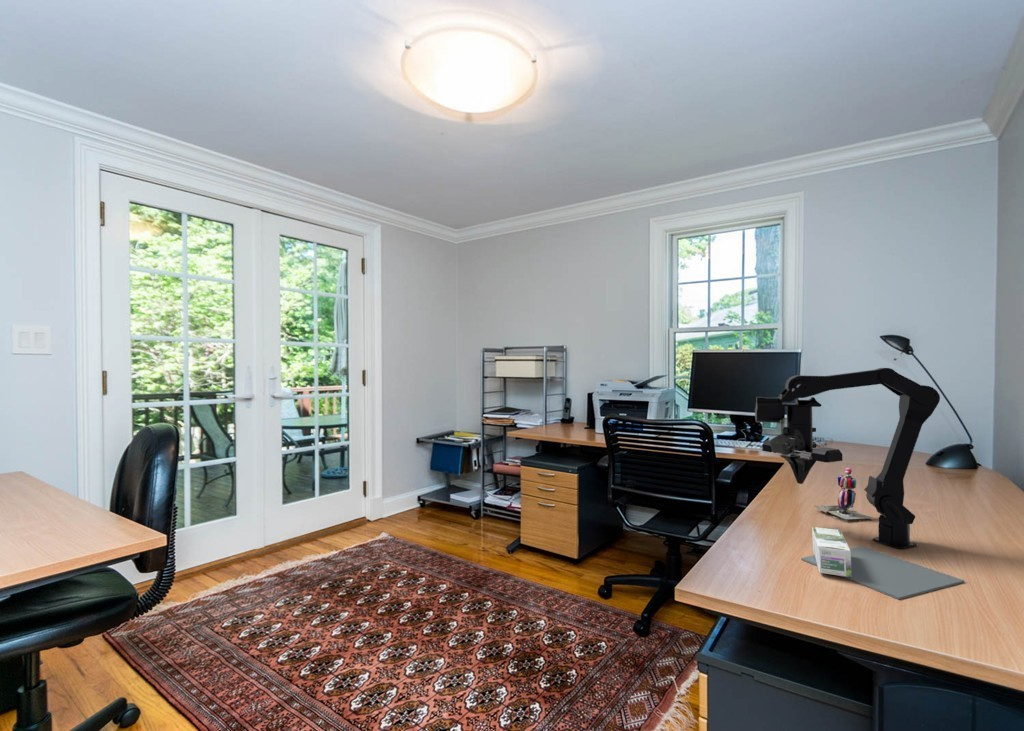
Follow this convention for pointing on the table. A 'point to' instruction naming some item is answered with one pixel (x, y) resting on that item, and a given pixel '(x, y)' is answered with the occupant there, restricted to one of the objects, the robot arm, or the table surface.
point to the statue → (845, 500)
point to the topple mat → (892, 574)
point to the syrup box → (831, 551)
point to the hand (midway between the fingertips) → (800, 483)
